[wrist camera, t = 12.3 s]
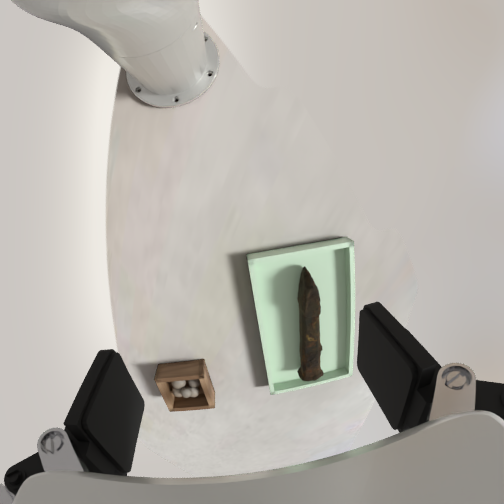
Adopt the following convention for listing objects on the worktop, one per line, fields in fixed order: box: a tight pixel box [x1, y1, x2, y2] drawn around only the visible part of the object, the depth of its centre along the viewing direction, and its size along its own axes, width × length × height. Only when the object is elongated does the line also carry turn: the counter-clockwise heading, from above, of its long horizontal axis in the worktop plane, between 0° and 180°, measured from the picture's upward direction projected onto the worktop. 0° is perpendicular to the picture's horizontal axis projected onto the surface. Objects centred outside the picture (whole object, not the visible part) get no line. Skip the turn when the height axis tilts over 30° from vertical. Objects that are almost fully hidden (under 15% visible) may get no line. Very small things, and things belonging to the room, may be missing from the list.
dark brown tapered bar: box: [297, 266, 324, 381], centre depth 41 cm, size 19×4×5 cm, turn 5°
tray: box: [246, 237, 355, 395], centre depth 43 cm, size 25×15×2 cm, turn 9°
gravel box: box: [154, 359, 215, 412], centre depth 43 cm, size 8×8×4 cm
